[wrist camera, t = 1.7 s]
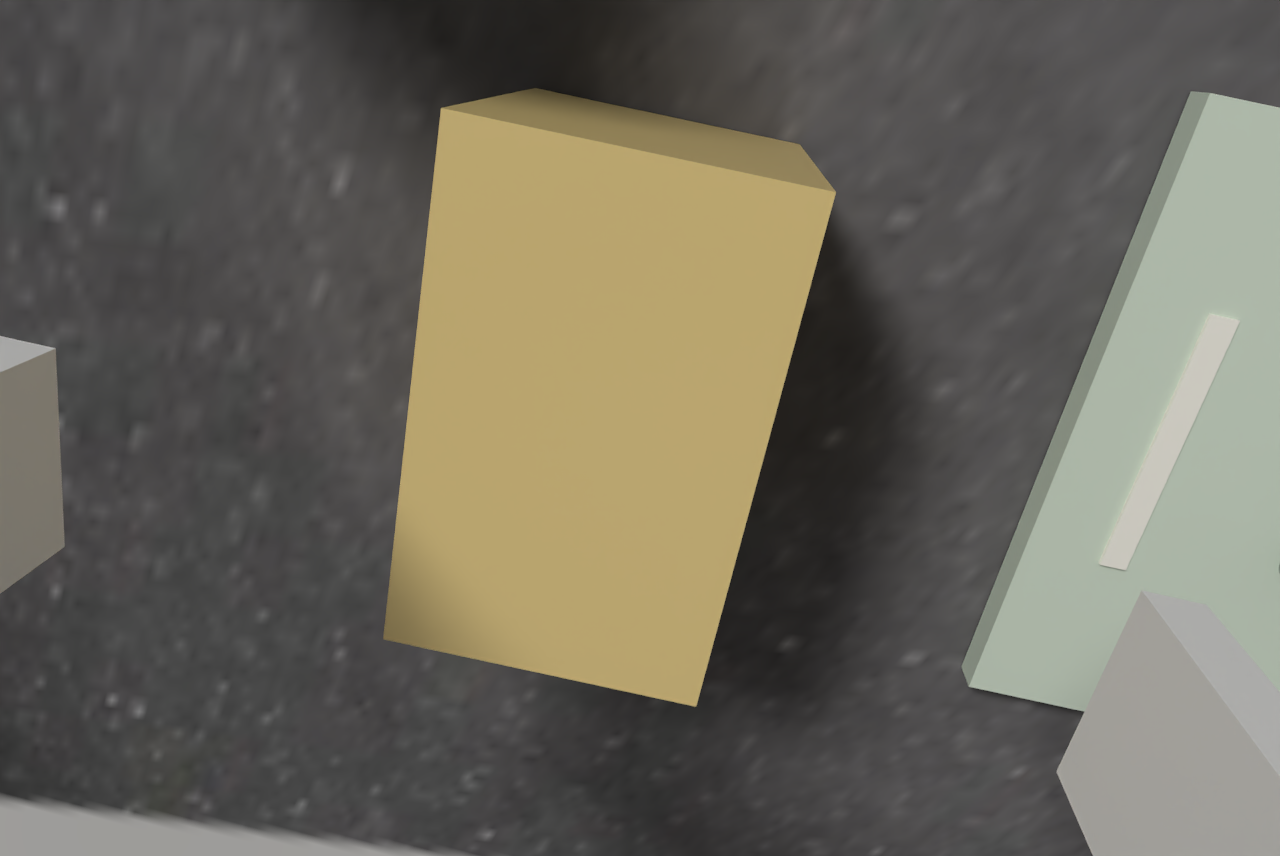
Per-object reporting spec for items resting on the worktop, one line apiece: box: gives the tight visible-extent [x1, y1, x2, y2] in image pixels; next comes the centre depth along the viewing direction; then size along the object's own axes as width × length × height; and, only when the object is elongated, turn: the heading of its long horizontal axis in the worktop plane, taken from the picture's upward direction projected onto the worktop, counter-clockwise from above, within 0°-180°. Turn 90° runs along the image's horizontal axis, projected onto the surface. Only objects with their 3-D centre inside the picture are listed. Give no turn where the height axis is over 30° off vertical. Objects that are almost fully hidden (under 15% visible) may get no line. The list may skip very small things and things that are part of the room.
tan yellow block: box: [383, 88, 836, 707], centre depth 18 cm, size 6×9×7 cm, turn 169°
